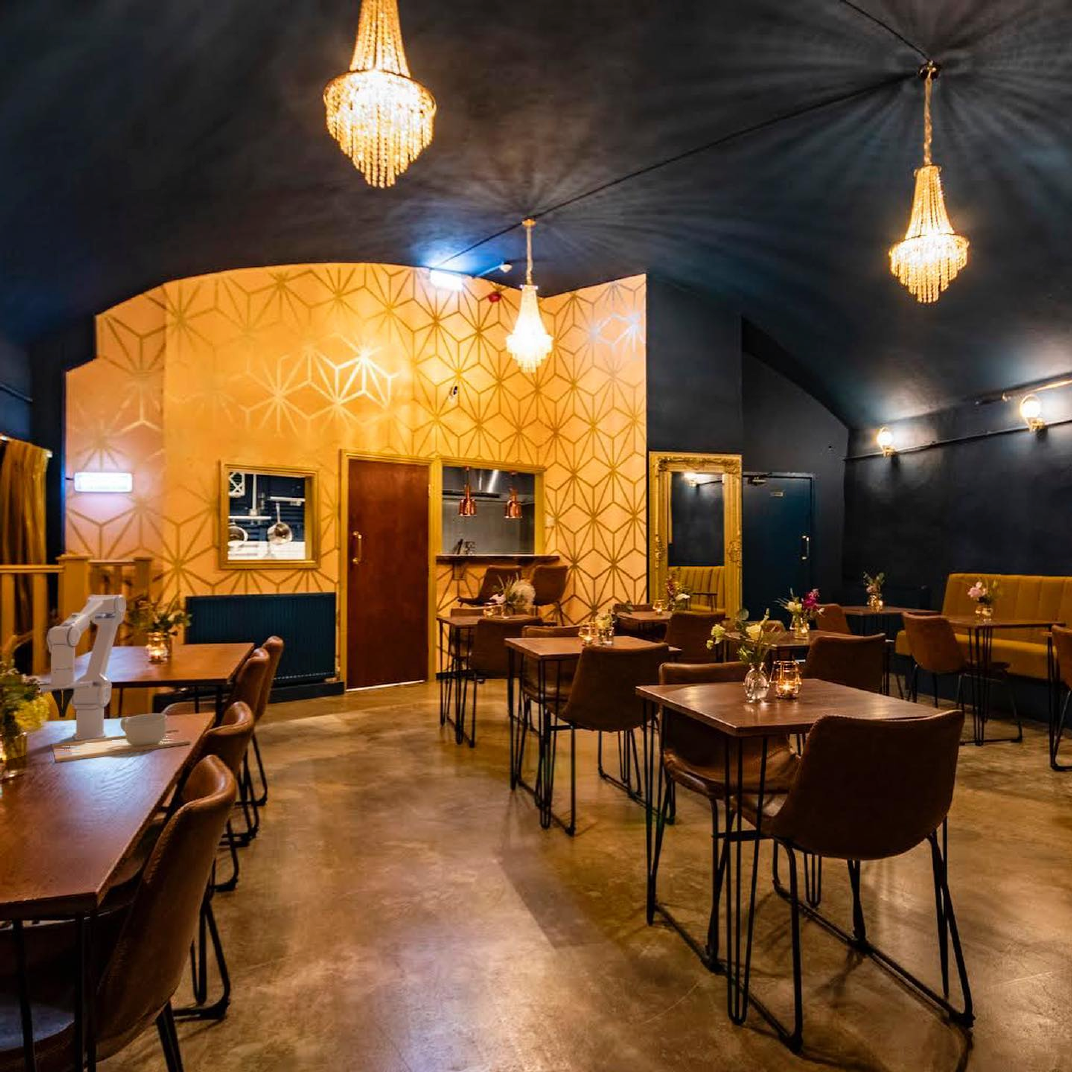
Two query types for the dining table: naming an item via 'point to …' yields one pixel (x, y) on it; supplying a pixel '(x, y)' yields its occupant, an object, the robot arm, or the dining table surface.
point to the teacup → (144, 729)
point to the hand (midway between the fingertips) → (62, 716)
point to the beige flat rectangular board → (103, 751)
